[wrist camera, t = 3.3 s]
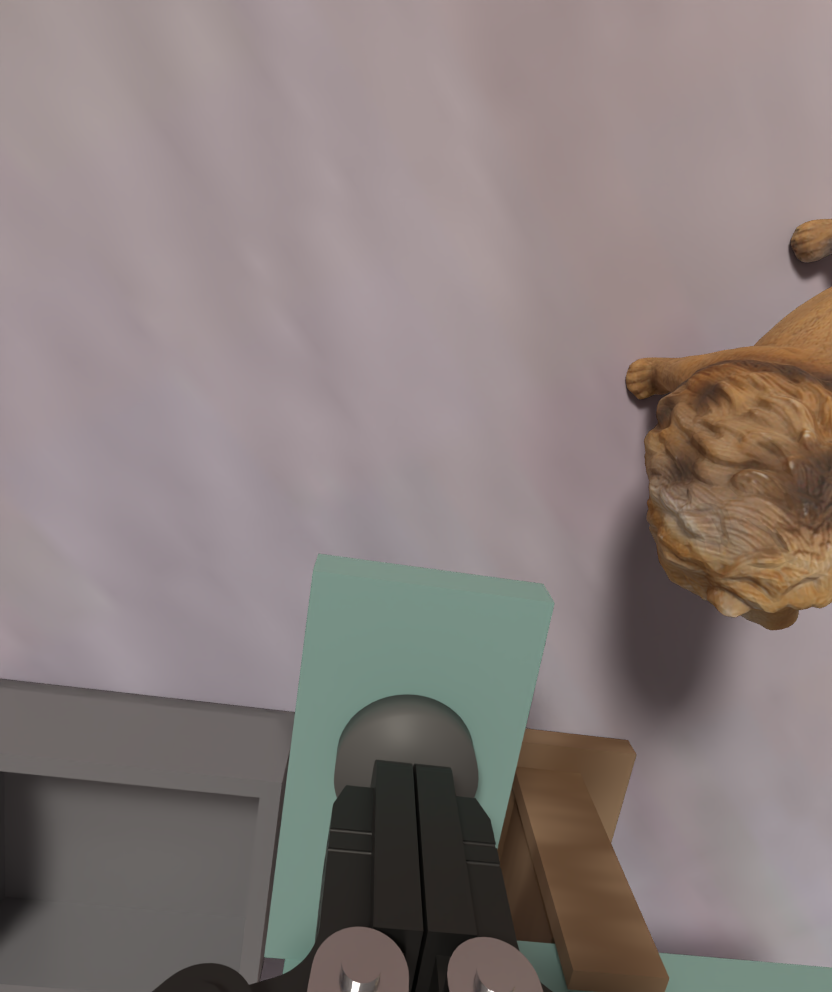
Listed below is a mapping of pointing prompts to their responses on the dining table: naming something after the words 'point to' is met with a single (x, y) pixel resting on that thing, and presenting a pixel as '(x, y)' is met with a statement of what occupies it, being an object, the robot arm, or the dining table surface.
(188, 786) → the tray
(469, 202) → the dining table surface
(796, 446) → the lion figurine
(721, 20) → the dining table surface
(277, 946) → the lever
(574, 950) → the fulcrum
